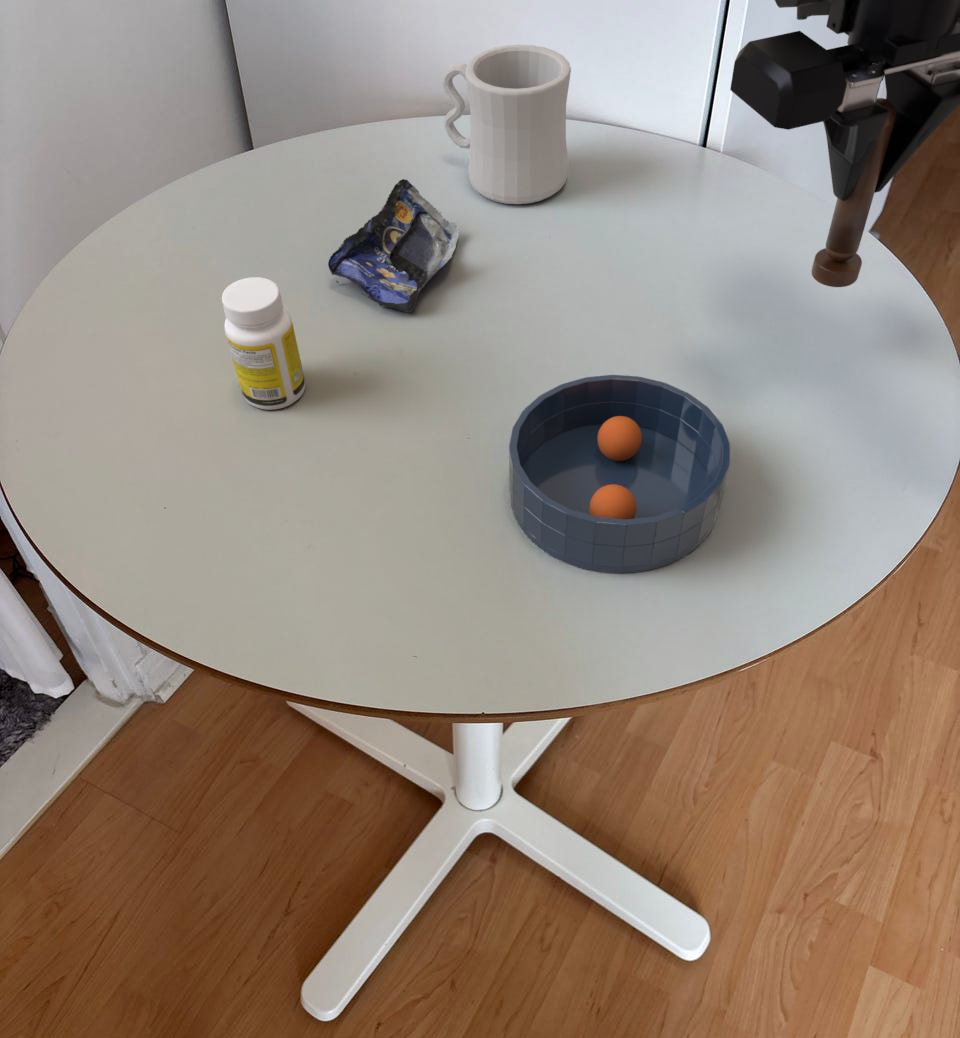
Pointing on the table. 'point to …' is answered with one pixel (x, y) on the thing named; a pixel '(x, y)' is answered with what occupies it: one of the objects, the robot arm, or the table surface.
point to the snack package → (397, 249)
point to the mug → (513, 121)
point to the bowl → (617, 473)
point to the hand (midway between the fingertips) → (856, 193)
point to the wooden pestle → (852, 218)
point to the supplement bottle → (262, 343)
